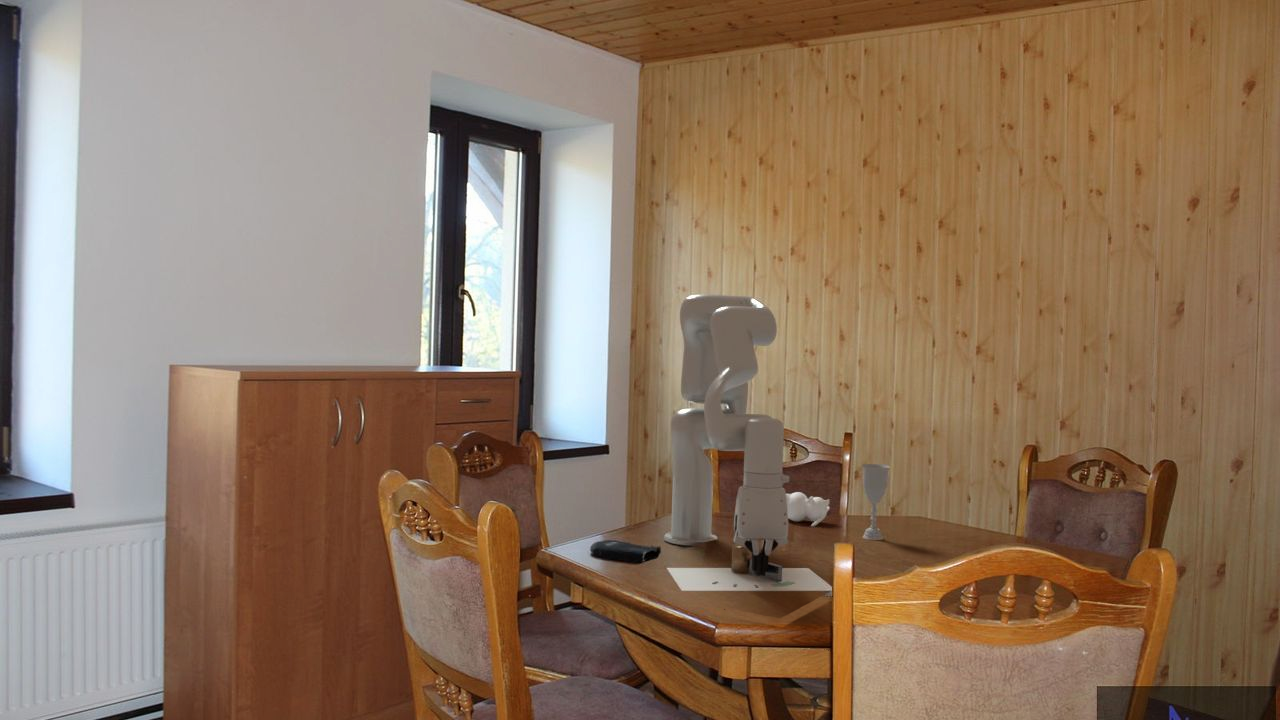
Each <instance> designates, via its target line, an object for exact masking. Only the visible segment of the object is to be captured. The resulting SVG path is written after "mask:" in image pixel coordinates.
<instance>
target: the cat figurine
mask: <svg viewBox="0 0 1280 720" xmlns="http://www.w3.org/2000/svg"><path fill="white" fill-rule="evenodd" d="M786 499H787V509H788V520H791V521H793V522H797V523H799V522H802V521H804V520H805V519H806V518H807V519H808V520H810V521H811V522H812V524H811V525H810V527H815V526H817V525H818V524H819V523H820V522H822V521H823V520H824V519H825V518H826V517H827V513H828V511H830V509H831V507H830V506H829V505H830V499H829V498H828V499H826V500H825V499H823V498H822V497H819V496H813V495H811V496H810V497H808V496H806V494H804V493H803V492H800V491H796V492H792V493H786Z"/></svg>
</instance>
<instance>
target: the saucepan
mask: <svg viewBox="0 0 1280 720" xmlns="http://www.w3.org/2000/svg"><path fill="white" fill-rule="evenodd" d="M730 568H731V570H732V571H733V572H736V573H749V574H752V575H756V574H755V573H754V571H753V570H752V552H751V551H750V550H749V549H748V548H747V547H746V546H742V545H738V544H735V543H734V544H732V546H731V567H730ZM782 568H783V565H780V564H776V563H772V562H769V561H768V571H766V574H765V576H762V575H760V576H759V577H763V578H766V579H769V580H773V581H776V582H781V581H782ZM756 576H757V575H756Z"/></svg>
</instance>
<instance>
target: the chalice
mask: <svg viewBox="0 0 1280 720" xmlns="http://www.w3.org/2000/svg"><path fill="white" fill-rule="evenodd" d="M861 468H862V469H863V470H862V472H863V473H862V488H863V490H864V493H865V495H866V499H867V501H868V502H869V503H871V506H872V507H871V510H870V512H871V516H870V518H869V519H870V521H871V525H870V527H867V528H866V529H865V531H864V532H863V536H862V539H865V540H871V541H882V540H884V538H883V536H882V535H883V534H882V533H881V530H880V528H877V526H876V522H877V520H878V518H877V512H878V511H877V504H879V503H881V502H882V501H881V500H882V499H883V498H884V495H885V494H886V491H887V488H888V481H889V480H888V478H889V470H890V469H891V466H890V465H884V464H875V463H874V464H873V463H863V464H861Z"/></svg>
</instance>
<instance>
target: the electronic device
mask: <svg viewBox="0 0 1280 720" xmlns="http://www.w3.org/2000/svg"><path fill="white" fill-rule="evenodd" d="M589 549H590V553H591V554H592V555H593V556H595V557H597V558H601V557H602V558H603V559H609V560H613V559H614V560H615V561H622V560H623V562H632V563H641V564H643V563H647V562H650V561H652V560H653V559H658V558H659V556H660V555H661V553H662V548H661V546H660V545H657V546H655V545H650V546H648V545H641V544H640V545H638V544H633V543H631V542H625V541H620V540H616V539H615V540H612V539H606V540H605V539H604V540H600V541H596V542H594V543H592V544H591V545H590V548H589ZM645 559H646V560H645ZM614 560H613V561H614ZM644 560H645V561H644Z"/></svg>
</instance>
